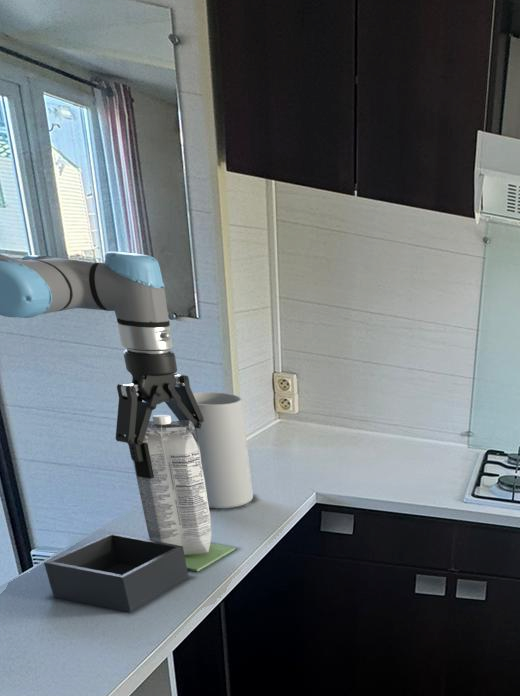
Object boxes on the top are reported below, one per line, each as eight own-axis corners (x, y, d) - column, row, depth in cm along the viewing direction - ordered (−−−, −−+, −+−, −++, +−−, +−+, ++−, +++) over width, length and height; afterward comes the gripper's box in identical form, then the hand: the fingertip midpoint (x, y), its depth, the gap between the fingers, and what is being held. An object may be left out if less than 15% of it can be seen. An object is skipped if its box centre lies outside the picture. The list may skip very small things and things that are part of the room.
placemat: (131, 559, 123) (131, 556, 123) (174, 538, 133) (173, 536, 133) (197, 571, 122) (197, 569, 122) (235, 549, 132) (234, 547, 132)
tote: (53, 597, 109) (43, 562, 106) (119, 564, 121) (111, 532, 118) (130, 612, 108) (122, 577, 105) (188, 578, 120) (183, 546, 117)
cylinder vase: (226, 487, 161) (213, 389, 150) (265, 498, 158) (254, 399, 147) (182, 501, 150) (164, 397, 139) (222, 513, 147) (207, 407, 136)
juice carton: (214, 555, 126) (194, 424, 115) (151, 561, 121) (123, 424, 110) (214, 537, 133) (194, 411, 122) (154, 542, 128) (128, 411, 116)
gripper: (112, 361, 100) (138, 490, 109) (214, 346, 121) (229, 455, 130) (69, 354, 100) (99, 483, 110) (178, 340, 121) (196, 449, 131)
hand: (170, 468), depth 120 cm, fingers closed on juice carton, 11 cm apart
